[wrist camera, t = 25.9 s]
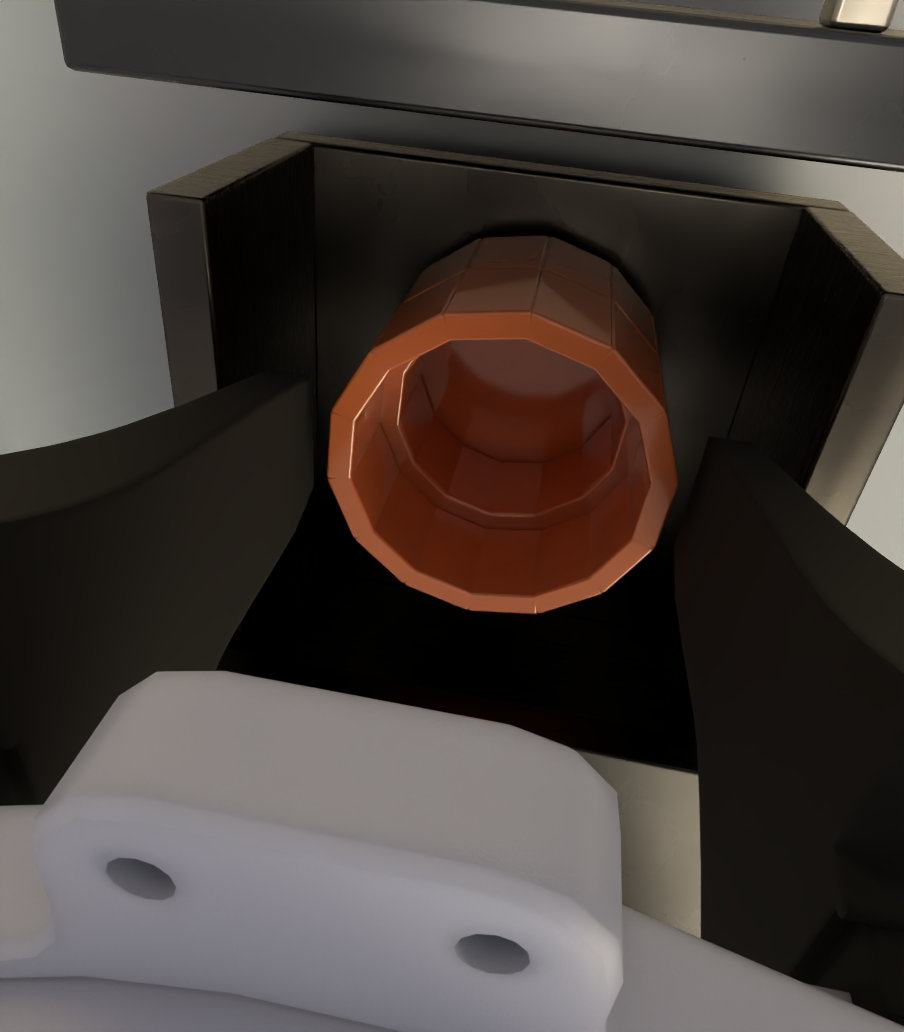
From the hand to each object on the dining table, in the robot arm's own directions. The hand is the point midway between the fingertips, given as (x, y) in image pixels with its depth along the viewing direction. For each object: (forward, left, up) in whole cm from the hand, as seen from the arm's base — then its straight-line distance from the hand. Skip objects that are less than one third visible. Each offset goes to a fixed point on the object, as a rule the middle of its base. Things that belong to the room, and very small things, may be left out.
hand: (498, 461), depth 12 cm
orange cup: (0, 0, -4) cm, 4 cm away
